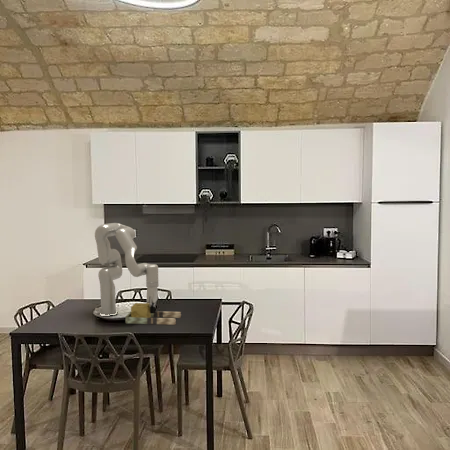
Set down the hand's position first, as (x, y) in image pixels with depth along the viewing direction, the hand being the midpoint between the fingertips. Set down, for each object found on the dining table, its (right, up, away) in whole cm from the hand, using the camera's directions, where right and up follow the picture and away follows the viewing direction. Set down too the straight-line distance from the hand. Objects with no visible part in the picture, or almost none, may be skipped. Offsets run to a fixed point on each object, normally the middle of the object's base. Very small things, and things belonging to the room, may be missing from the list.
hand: (153, 312), depth 301 cm
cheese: (-8, -5, +1) cm, 9 cm away
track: (+1, -5, 0) cm, 5 cm away
